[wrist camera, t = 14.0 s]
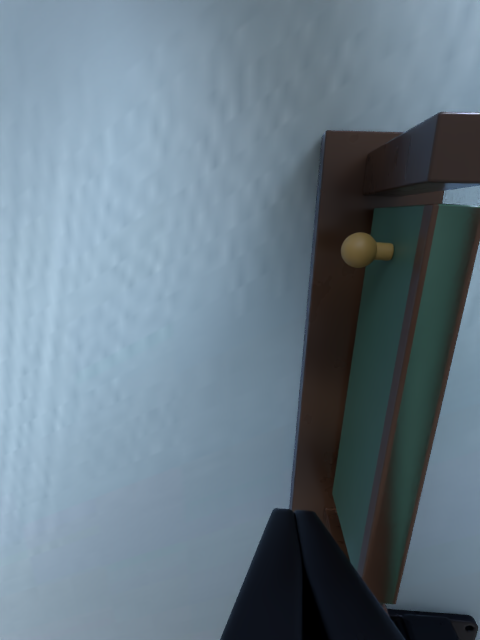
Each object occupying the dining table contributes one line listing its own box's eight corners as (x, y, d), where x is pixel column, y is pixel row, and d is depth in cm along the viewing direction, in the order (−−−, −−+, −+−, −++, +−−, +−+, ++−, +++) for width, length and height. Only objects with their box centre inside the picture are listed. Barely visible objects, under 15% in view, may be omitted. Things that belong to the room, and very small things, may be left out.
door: (355, 507, 19) (392, 620, 13) (297, 503, 19) (312, 612, 14) (406, 209, 14) (488, 206, 9) (331, 205, 15) (371, 200, 9)
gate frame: (375, 526, 21) (432, 677, 14) (287, 520, 21) (301, 666, 14) (442, 138, 15) (592, 74, 8) (321, 135, 15) (372, 70, 8)
